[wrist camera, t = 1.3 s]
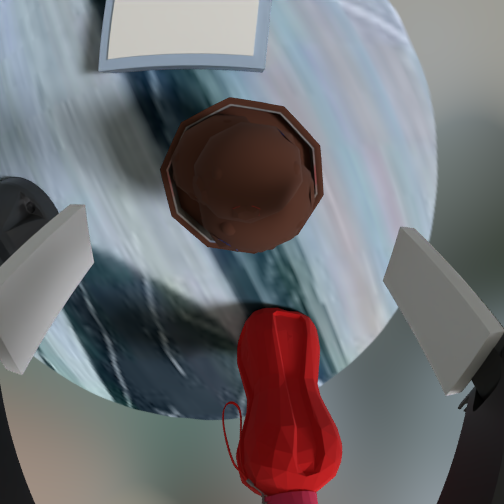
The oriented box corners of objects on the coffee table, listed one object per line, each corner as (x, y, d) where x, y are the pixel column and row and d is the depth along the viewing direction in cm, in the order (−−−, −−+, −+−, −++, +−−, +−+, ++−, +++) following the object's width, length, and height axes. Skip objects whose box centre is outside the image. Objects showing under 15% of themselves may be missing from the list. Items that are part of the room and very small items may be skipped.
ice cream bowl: (166, 133, 27) (96, 174, 14) (273, 79, 25) (301, 63, 11) (218, 223, 32) (200, 322, 18) (318, 177, 29) (374, 251, 16)
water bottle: (236, 294, 36) (231, 515, 14) (321, 311, 38) (370, 506, 16) (220, 346, 40) (209, 528, 19) (295, 358, 42) (318, 527, 20)
